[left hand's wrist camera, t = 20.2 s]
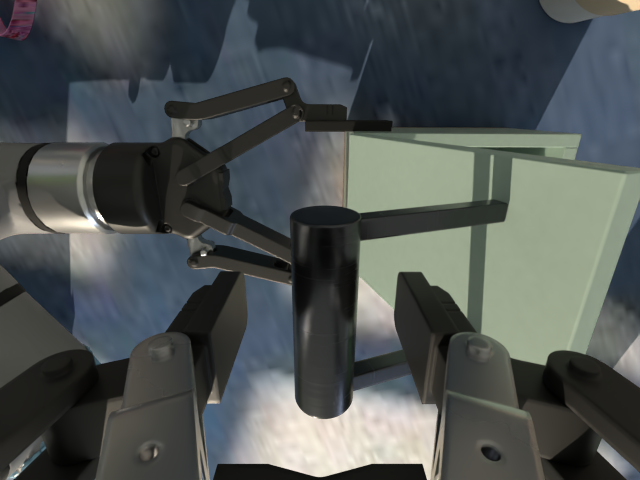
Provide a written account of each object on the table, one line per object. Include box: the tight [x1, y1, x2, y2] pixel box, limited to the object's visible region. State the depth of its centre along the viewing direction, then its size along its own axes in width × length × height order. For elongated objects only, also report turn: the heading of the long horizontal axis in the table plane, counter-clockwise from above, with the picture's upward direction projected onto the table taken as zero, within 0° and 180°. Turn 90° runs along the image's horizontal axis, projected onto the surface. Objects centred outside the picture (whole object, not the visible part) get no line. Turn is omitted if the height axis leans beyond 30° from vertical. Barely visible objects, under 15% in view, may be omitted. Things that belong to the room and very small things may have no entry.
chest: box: [343, 127, 581, 208], centre depth 30 cm, size 16×10×10 cm, turn 90°
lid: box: [290, 133, 640, 419], centre depth 16 cm, size 16×10×9 cm
